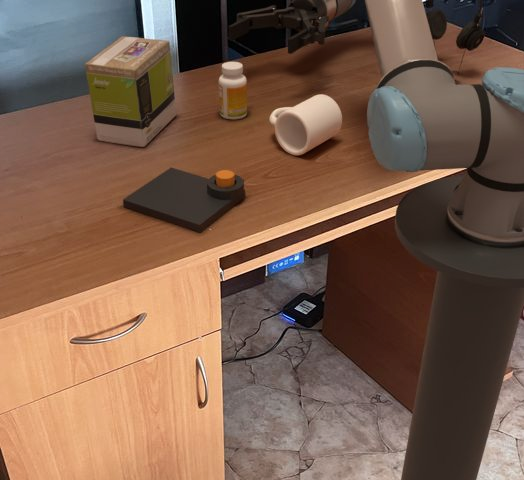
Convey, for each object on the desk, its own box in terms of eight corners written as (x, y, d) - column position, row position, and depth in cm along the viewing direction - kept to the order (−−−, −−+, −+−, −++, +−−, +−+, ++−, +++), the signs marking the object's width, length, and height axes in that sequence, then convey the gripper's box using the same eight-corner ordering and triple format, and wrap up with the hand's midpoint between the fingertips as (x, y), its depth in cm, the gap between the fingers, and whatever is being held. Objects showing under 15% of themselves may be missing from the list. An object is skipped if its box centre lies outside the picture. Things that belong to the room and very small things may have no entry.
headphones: (394, 68, 173) (405, -29, 160) (428, 57, 179) (441, -39, 166) (448, 89, 164) (464, -13, 151) (482, 76, 170) (500, -23, 157)
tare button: (238, 182, 128) (238, 172, 126) (228, 190, 126) (227, 180, 124) (222, 177, 129) (222, 168, 128) (212, 185, 127) (212, 175, 126)
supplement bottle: (252, 113, 155) (252, 63, 149) (236, 122, 151) (235, 72, 145) (230, 106, 157) (229, 58, 151) (214, 116, 154) (212, 66, 147)
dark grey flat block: (250, 195, 130) (250, 179, 128) (202, 233, 120) (201, 216, 119) (174, 172, 136) (173, 156, 134) (123, 207, 127) (121, 190, 125)
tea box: (131, 109, 156) (122, 33, 146) (177, 116, 153) (172, 39, 144) (95, 141, 145) (83, 61, 135) (144, 149, 143) (136, 68, 133)
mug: (341, 142, 145) (344, 100, 140) (309, 161, 139) (311, 118, 134) (289, 124, 151) (290, 83, 146) (256, 142, 145) (256, 100, 140)
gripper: (363, 39, 165) (314, 71, 151) (261, 18, 174) (207, 47, 161) (366, 1, 160) (316, 31, 146) (261, -18, 170) (205, 9, 156)
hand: (259, 40), depth 153 cm, fingers open, 13 cm apart
